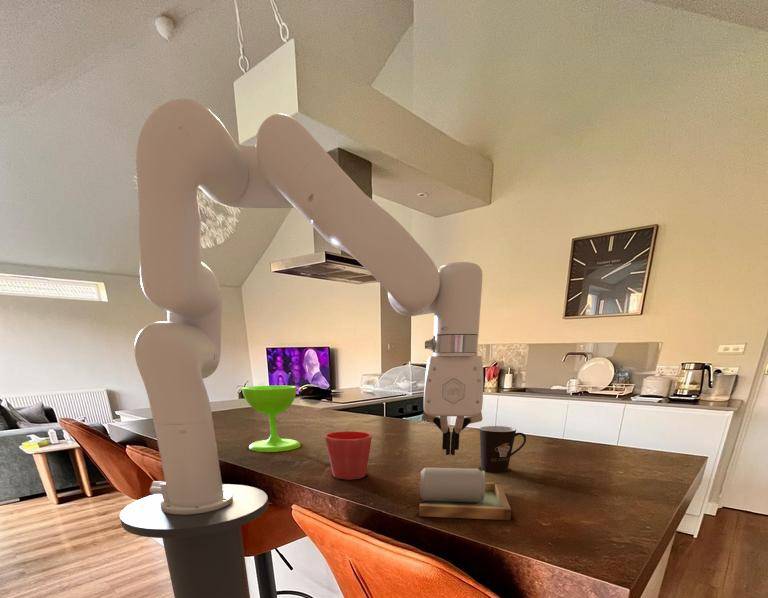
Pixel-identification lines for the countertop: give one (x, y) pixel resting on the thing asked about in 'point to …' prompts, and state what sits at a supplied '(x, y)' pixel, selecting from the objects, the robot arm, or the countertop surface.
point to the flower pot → (348, 453)
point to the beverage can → (452, 485)
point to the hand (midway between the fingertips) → (450, 453)
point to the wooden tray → (472, 506)
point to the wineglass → (271, 414)
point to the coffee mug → (497, 447)
